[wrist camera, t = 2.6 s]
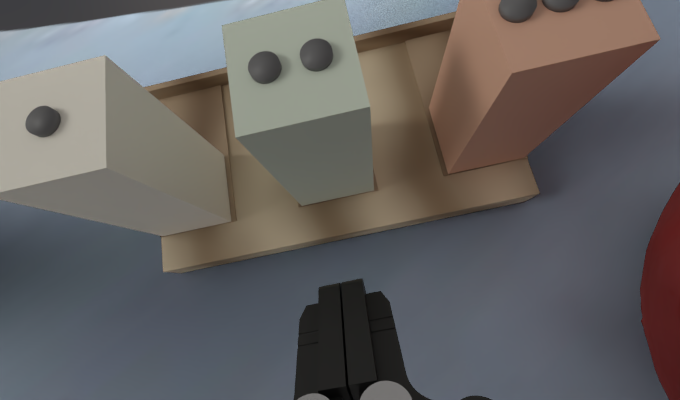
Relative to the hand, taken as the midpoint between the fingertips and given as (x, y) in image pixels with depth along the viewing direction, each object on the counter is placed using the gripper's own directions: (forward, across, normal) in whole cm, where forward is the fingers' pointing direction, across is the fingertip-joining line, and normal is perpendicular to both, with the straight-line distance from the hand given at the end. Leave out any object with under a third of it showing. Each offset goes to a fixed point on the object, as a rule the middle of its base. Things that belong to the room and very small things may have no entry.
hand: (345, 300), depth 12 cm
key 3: (+11, -9, 0) cm, 14 cm away
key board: (+14, 0, 0) cm, 14 cm away
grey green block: (+11, 0, 0) cm, 11 cm away
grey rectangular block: (+11, +9, 0) cm, 14 cm away
